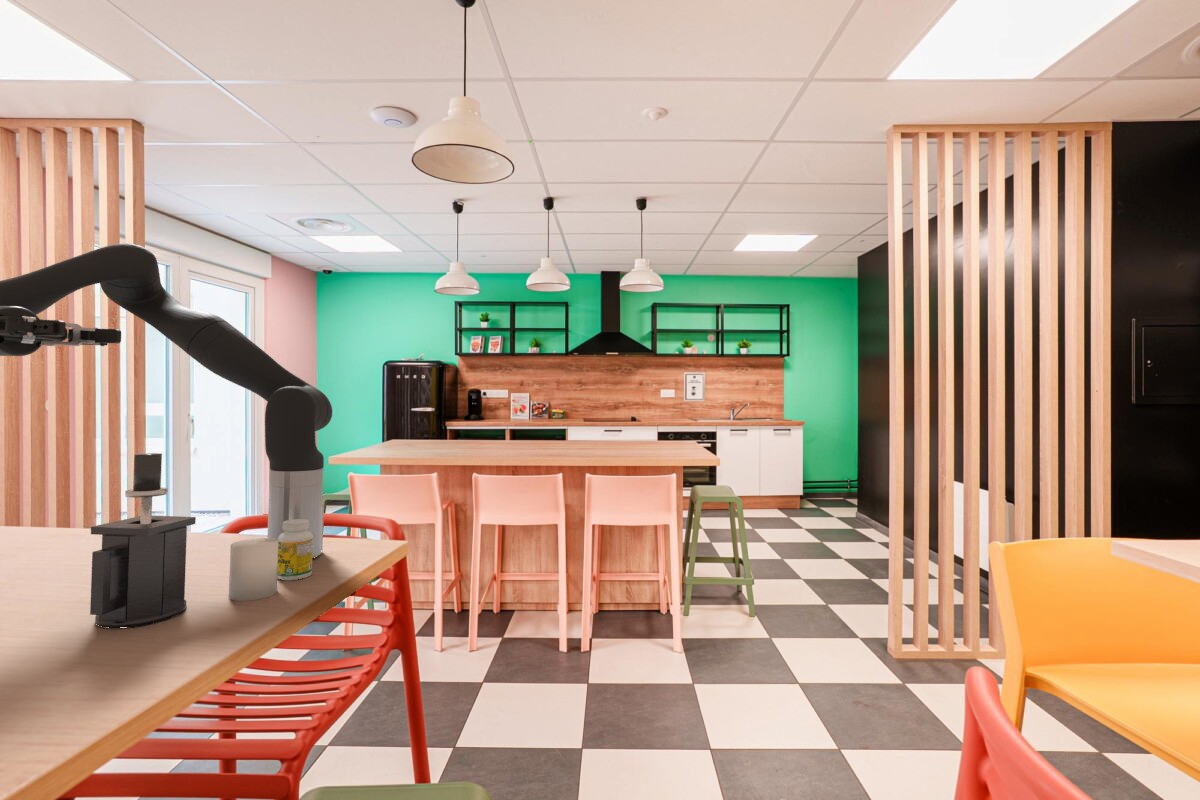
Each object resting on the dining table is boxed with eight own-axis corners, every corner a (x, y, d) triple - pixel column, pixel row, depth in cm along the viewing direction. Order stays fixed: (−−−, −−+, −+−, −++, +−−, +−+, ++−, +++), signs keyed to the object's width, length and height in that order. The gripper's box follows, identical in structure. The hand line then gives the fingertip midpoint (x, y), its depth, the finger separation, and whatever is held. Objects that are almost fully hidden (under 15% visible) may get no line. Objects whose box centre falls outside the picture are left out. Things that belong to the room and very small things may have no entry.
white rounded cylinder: (247, 586, 90) (249, 537, 90) (285, 587, 89) (287, 538, 90) (218, 599, 83) (220, 547, 84) (259, 601, 83) (260, 548, 83)
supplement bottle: (318, 575, 96) (320, 520, 96) (288, 583, 92) (290, 525, 92) (299, 570, 99) (301, 516, 99) (269, 577, 94) (271, 521, 94)
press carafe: (140, 600, 82) (143, 513, 82) (203, 603, 82) (206, 516, 82) (59, 632, 70) (63, 531, 71) (131, 636, 70) (135, 534, 70)
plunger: (141, 597, 79) (147, 452, 80) (172, 599, 79) (177, 453, 79) (111, 609, 75) (117, 455, 75) (144, 610, 75) (149, 456, 75)
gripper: (-67, 296, 76) (42, 298, 75) (42, 314, 90) (136, 315, 89) (-70, 350, 76) (40, 352, 75) (41, 359, 90) (134, 361, 89)
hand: (92, 332), depth 82 cm, fingers open, 8 cm apart
